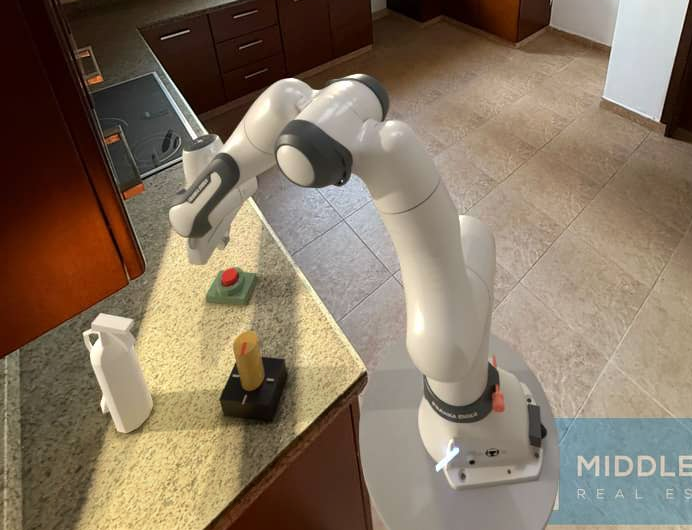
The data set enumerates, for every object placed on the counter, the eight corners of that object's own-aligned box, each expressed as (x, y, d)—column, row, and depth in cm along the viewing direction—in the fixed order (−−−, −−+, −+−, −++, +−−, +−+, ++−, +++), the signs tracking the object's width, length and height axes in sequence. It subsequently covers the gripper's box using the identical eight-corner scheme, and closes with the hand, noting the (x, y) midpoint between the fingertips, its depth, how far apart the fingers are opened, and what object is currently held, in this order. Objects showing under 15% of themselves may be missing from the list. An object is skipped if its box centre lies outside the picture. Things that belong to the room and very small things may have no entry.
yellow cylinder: (244, 367, 87) (236, 331, 83) (266, 364, 87) (259, 328, 84) (238, 392, 83) (229, 355, 79) (261, 389, 83) (253, 352, 80)
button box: (257, 279, 111) (255, 267, 110) (245, 305, 104) (242, 293, 103) (221, 276, 112) (218, 264, 111) (206, 302, 105) (203, 290, 104)
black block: (288, 373, 90) (285, 356, 88) (271, 424, 82) (268, 406, 80) (243, 368, 91) (239, 351, 89) (222, 418, 83) (218, 400, 81)
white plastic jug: (118, 386, 89) (84, 298, 81) (169, 396, 87) (140, 306, 79) (90, 426, 83) (51, 334, 75) (145, 438, 80) (111, 345, 73)
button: (240, 273, 108) (239, 268, 108) (233, 287, 105) (232, 281, 105) (227, 272, 109) (226, 267, 108) (220, 286, 106) (218, 280, 105)
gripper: (201, 236, 89) (213, 286, 93) (246, 170, 108) (254, 213, 112) (173, 234, 90) (186, 284, 94) (222, 169, 109) (232, 212, 113)
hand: (224, 245), depth 103 cm, fingers closed
